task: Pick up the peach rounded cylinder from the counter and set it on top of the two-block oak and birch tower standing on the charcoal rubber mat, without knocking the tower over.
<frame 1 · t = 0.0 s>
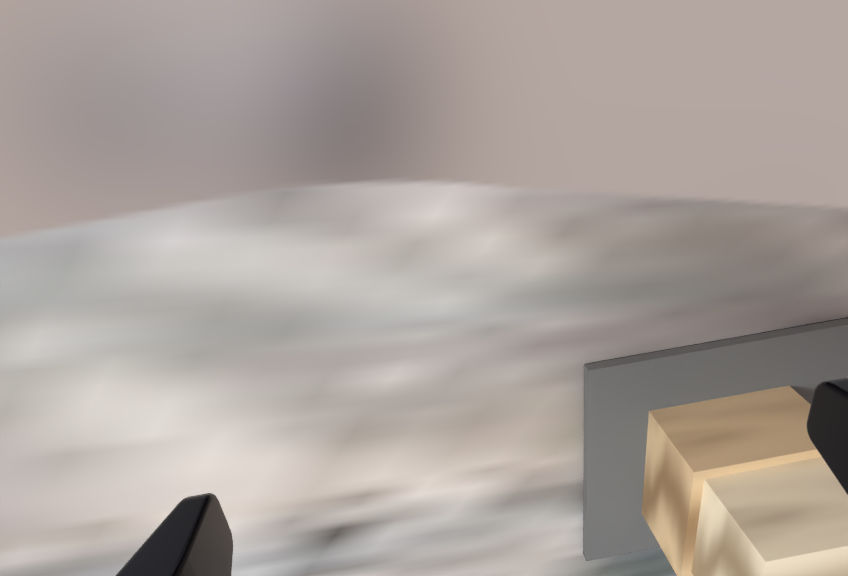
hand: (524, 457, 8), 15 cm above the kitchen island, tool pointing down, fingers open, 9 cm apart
top block: (762, 515, 26), point 4 cm above the kitchen island, touching base block
base block: (711, 452, 29), resting on mat, touching top block
mat: (706, 445, 30), on the kitchen island
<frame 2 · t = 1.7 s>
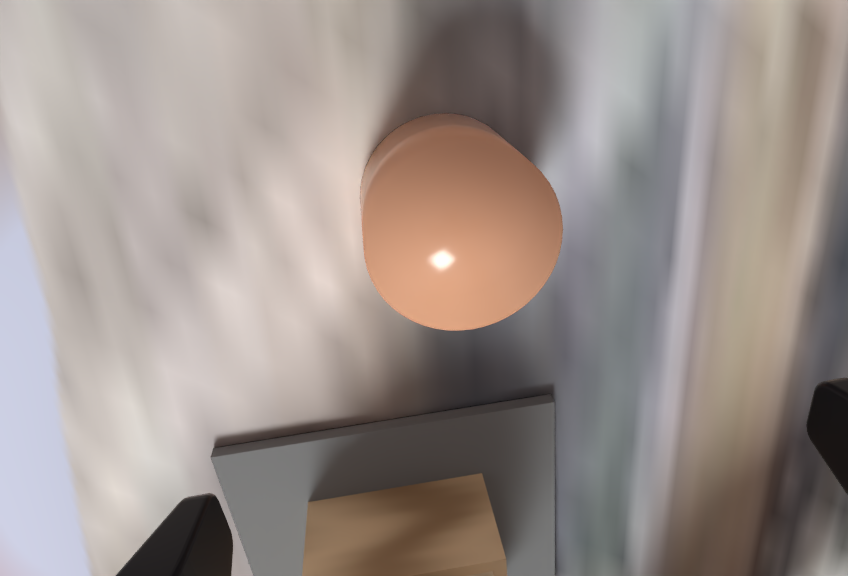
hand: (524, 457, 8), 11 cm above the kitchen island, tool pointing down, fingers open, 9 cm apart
base block: (406, 547, 25), resting on mat, touching top block
peach rounded cylinder: (441, 196, 18), on the kitchen island
mat: (405, 537, 25), on the kitchen island
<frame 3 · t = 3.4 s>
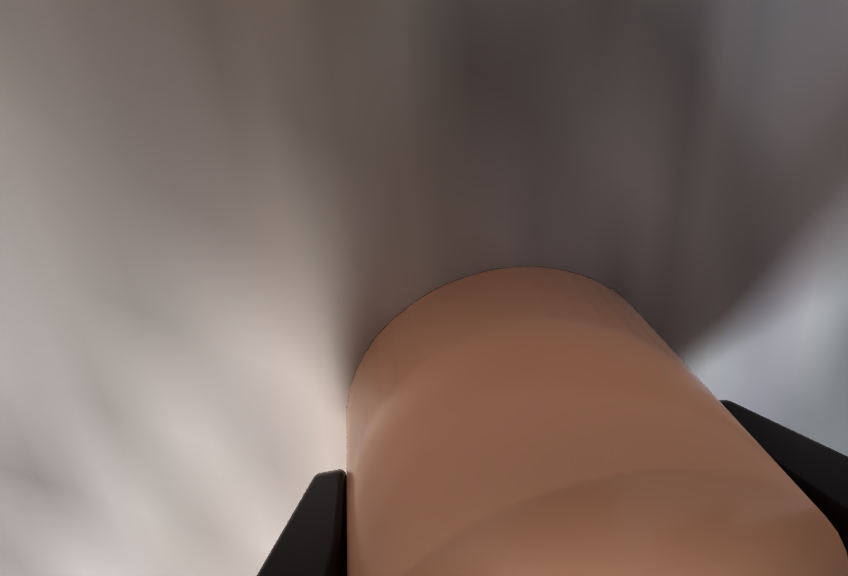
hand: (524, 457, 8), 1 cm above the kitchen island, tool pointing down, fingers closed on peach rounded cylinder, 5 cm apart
peach rounded cylinder: (506, 411, 9), on the kitchen island, touching gripper
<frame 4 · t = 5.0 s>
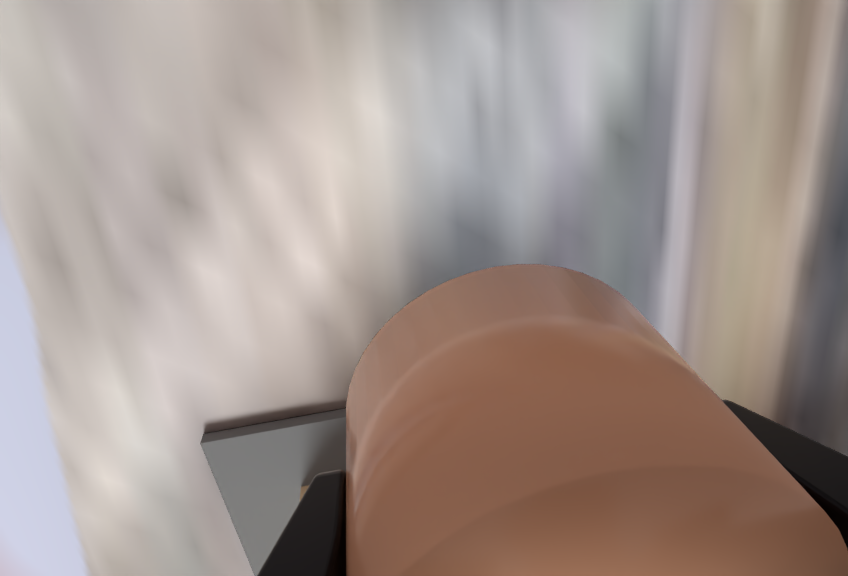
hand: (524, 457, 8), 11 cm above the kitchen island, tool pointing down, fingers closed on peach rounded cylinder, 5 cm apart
peach rounded cylinder: (506, 409, 9), point 10 cm above the kitchen island, touching gripper
mat: (400, 520, 25), on the kitchen island
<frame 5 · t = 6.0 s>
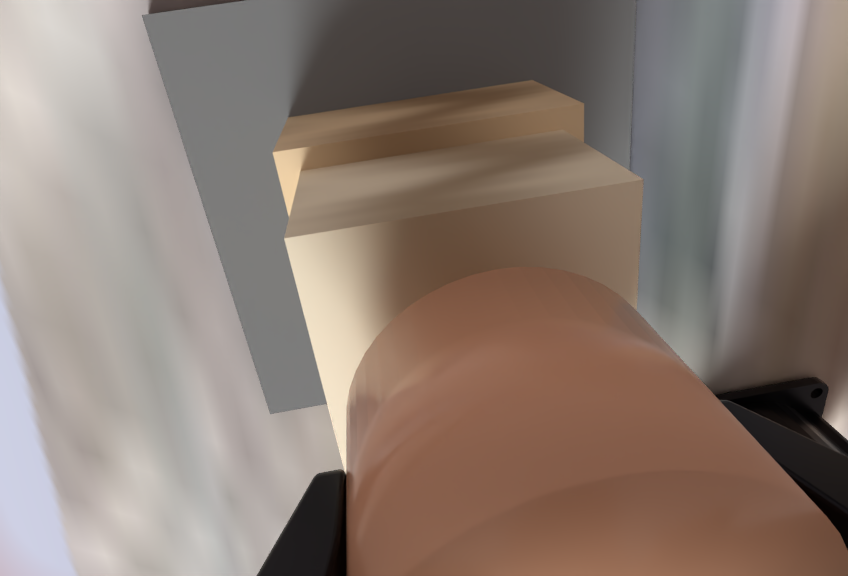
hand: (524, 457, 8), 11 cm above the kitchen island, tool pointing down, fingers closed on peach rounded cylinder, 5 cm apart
top block: (447, 268, 14), point 4 cm above the kitchen island, touching base block
base block: (426, 214, 18), resting on mat, touching top block
peach rounded cylinder: (506, 411, 9), point 10 cm above the kitchen island, touching gripper
mat: (424, 209, 18), on the kitchen island
when the fingers open (10 cm above the kitchen island, at t = 6.6 s): peach rounded cylinder stays where it is, resting on top block.
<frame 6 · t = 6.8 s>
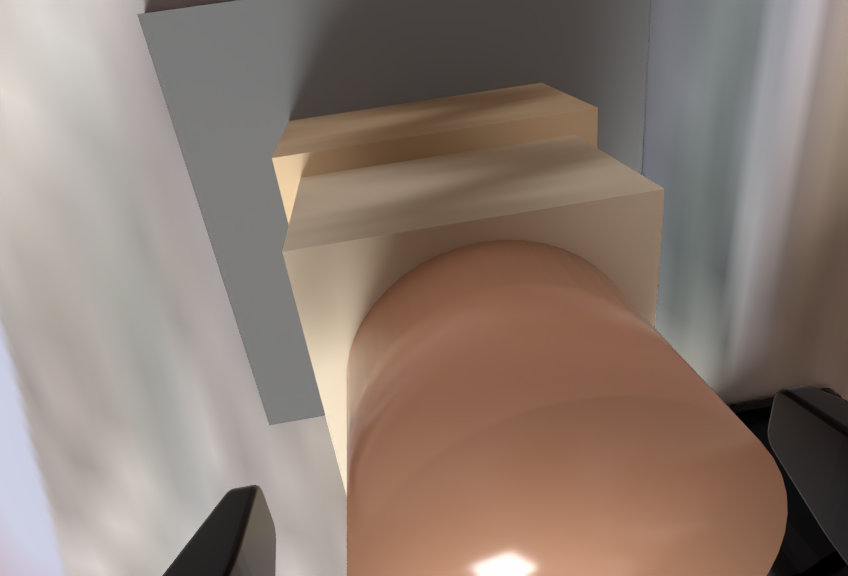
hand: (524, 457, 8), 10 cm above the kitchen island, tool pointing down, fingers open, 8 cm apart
top block: (453, 279, 14), point 4 cm above the kitchen island, touching base block, peach rounded cylinder
base block: (431, 221, 17), resting on mat, touching top block
peach rounded cylinder: (493, 375, 10), point 8 cm above the kitchen island, touching top block
mat: (429, 215, 18), on the kitchen island
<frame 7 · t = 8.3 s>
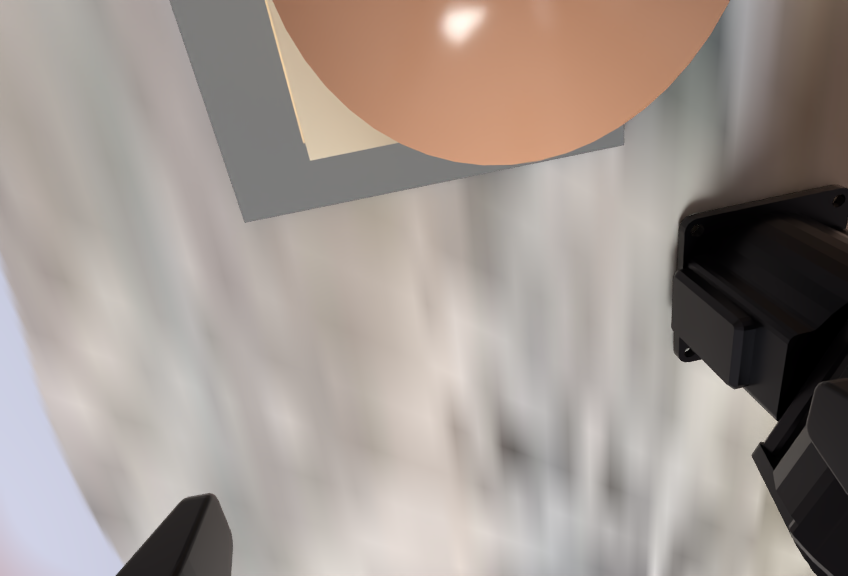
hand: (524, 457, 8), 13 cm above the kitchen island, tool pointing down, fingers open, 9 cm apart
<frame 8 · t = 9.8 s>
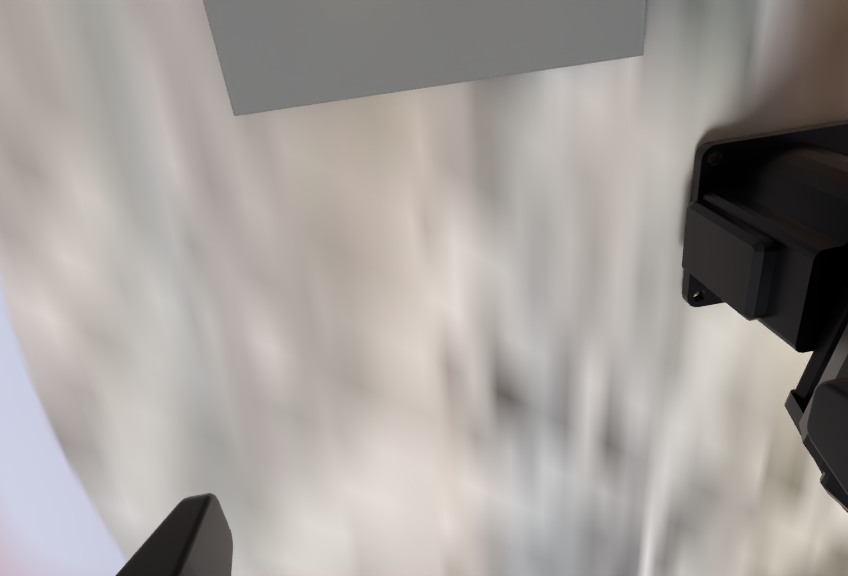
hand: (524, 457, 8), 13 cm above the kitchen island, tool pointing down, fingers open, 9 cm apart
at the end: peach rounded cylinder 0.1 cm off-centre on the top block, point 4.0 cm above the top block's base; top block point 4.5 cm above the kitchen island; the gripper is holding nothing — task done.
